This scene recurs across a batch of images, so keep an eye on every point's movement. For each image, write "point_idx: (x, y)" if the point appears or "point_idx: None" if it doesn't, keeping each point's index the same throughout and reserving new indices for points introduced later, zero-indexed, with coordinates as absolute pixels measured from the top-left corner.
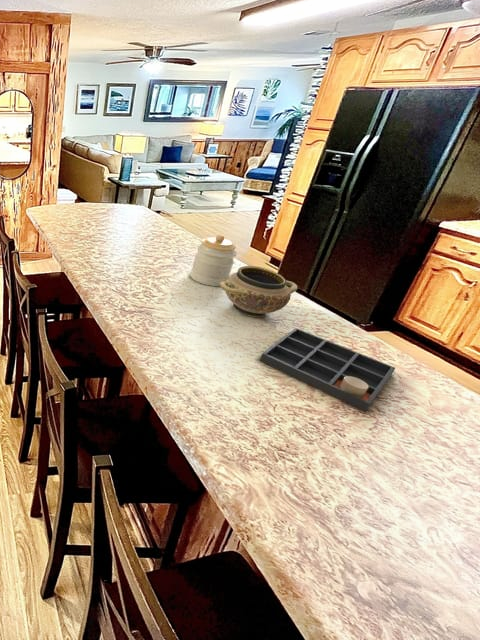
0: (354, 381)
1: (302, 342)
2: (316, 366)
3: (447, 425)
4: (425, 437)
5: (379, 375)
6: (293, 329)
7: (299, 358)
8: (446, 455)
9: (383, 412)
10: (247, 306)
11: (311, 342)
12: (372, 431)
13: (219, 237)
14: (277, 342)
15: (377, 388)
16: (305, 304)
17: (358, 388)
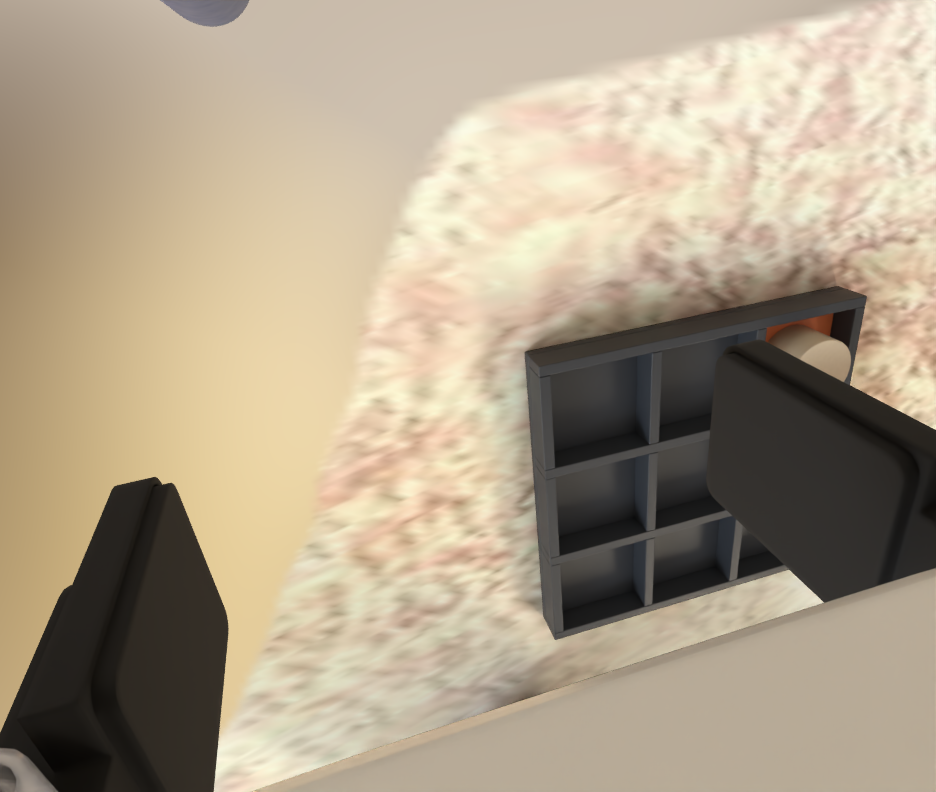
0: None
1: (588, 574)
2: None
3: (715, 115)
4: (842, 135)
5: (656, 364)
6: (576, 633)
7: None
8: (893, 64)
9: (797, 258)
10: None
11: (560, 567)
12: (917, 232)
13: None
14: (714, 590)
15: (755, 327)
16: (224, 759)
17: (847, 352)
